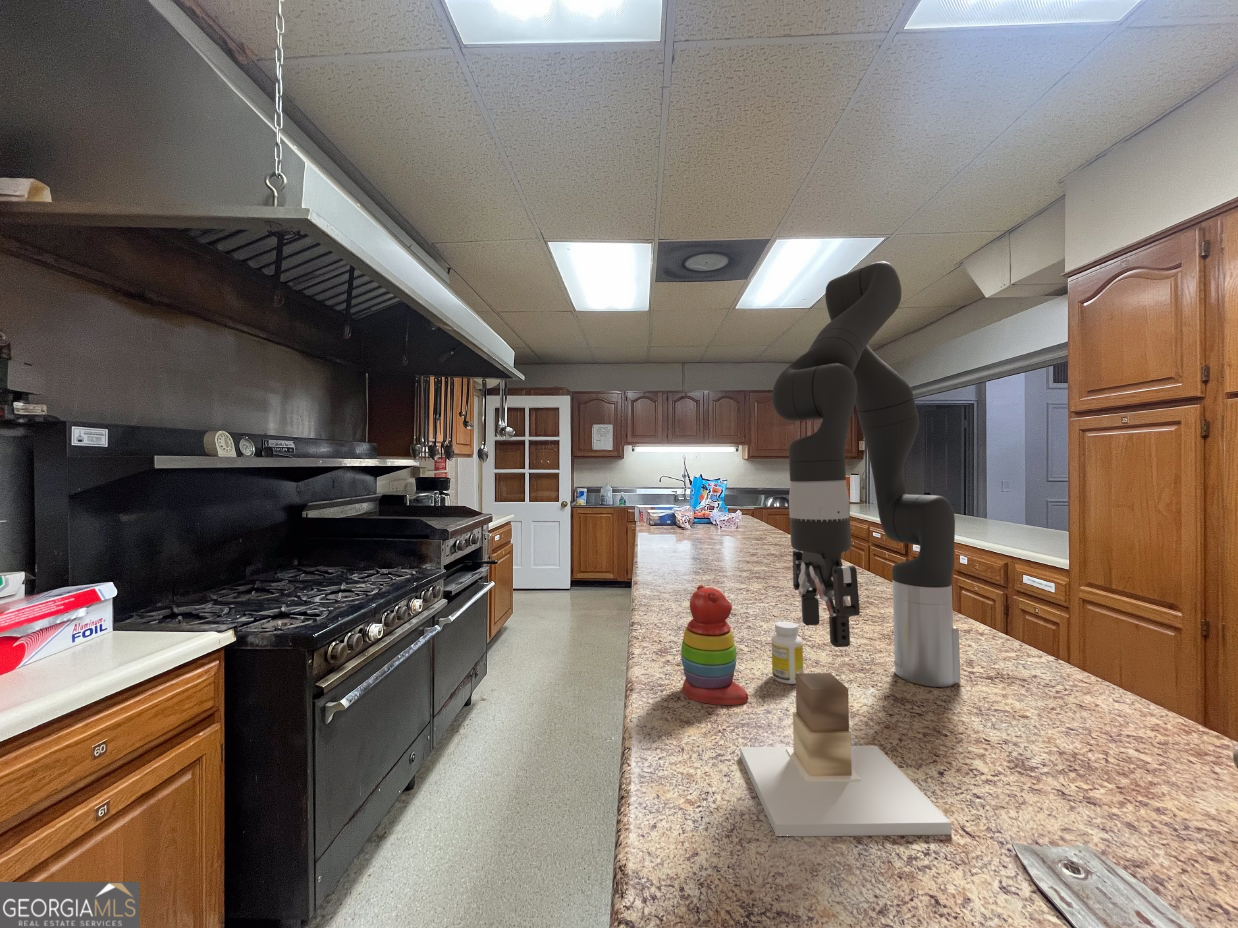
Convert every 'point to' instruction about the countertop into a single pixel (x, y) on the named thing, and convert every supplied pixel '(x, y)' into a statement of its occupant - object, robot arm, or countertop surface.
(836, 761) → the oak block
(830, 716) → the walnut block
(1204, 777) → the countertop surface
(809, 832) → the build board
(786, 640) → the supplement bottle
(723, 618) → the stacking bear
